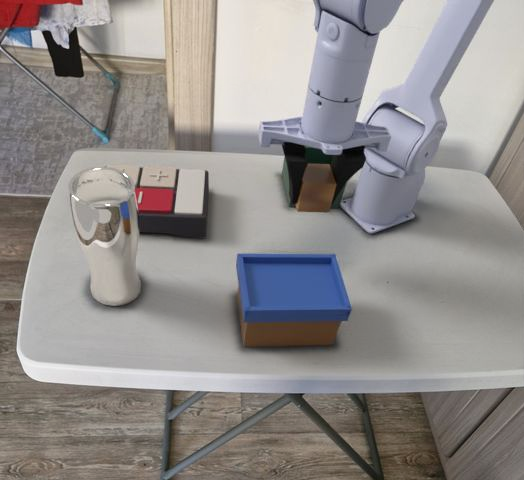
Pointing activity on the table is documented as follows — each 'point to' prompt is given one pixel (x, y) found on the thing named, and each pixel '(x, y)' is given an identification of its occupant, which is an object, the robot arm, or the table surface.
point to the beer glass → (107, 231)
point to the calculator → (170, 199)
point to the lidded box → (290, 299)
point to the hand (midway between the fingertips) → (310, 199)
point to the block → (316, 189)
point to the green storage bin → (312, 158)
